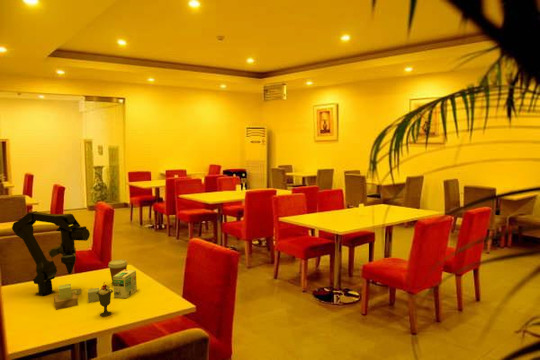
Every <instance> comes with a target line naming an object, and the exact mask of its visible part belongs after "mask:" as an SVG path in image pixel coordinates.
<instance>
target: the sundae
mask: <svg viewBox="0 0 540 360" xmlns="http://www.w3.org/2000/svg"><path fill="white" fill-rule="evenodd" d="M112 293H114V289H112V288H110V286H109V285H107V284H105V282H103V284H102V285H101V287H100V288H99V291H98V292H97V293H96V294H98V297H99V301H98V302H99V305H100V306H102V307H103V311H102V312H101V313H100V314H99V316H100V317H104V318H105V317H108V316H111V315H112V314H113V313H112V311H108V306H109V305H110V304H111V298H112V297H111V296H112Z"/></svg>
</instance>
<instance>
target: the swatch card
mask: <svg viewBox="0 0 540 360" xmlns="http://www.w3.org/2000/svg"><path fill="white" fill-rule="evenodd" d="M71 292H75V293H76V295H77V296H78V295H82V288H74V289H71Z"/></svg>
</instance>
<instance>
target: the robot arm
mask: <svg viewBox="0 0 540 360" xmlns="http://www.w3.org/2000/svg"><path fill="white" fill-rule="evenodd" d="M36 222H42V223H48V224H53V225H55V226H56V227H58V228H56V232H60V244H59V245H57V246H55V247H53V248H50V249H49V250H48V255H49V256H50V258H52V259H53V258H54V257H56V256H58V255H61V257H60V260H61V261H60V262H61V264H63V265H65V268H66V271H67V274H68V275H71V274H72V273H73V269H74V266H75V264H76V261H77V256H76V253H77V252H76V251H77V249H76V246H75V241H79V242H80V241H82V242H86V241H88V240H89V238H90V236H91V235H90V234H91V233H90V232H91V231H89V229H88V228H87V226H86V225H85V226H81V224H80V223H79V221H78V220H77V219H76V218H75V216H74V214H72V213H61V214H59V213H58V214H56V213H55V214H54V213H48V212H42V211H41V212H40V211H30V212H27V213H26V214H25V215H24V216H23V217H21V218H19V219H18V220H17V221H15V222H13V224H12V225H11V226H12V227H11V228H12V232H14V234H15V235H16V236H17V237H18V238H20V239H21V240H22V241H23V243H24V245H25V246H26V248H27V251H28V252H29V254H30V256H31V257H32V260H33V262H35V264H36V266H35V272H36V276H35V277H34V278H33V279H32V281H33V283H34V285H37V292H35V295H38V296H40V297H45V296H47V295H50V294H53V293H55V292H56V290H53V284H52V283H53V281H52V280H54V279H55V277H56V275H57V273H58V270H57V268H58V267H57V266H56V264H55V262H54V261H53V260H51V261H50V260H48V259H47V258H46V255H45V253H44V251H43V250H42V249H41V247H40V244H39V243H38V241H37V239H36V237H35V235H34V225H35V223H36Z"/></svg>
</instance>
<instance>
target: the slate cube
mask: <svg viewBox="0 0 540 360" xmlns="http://www.w3.org/2000/svg"><path fill="white" fill-rule="evenodd" d="M99 290H100V287H95V288H89V289H87V299H88V304H91V303H96V302H97V303H98V302H100V301H99V297H98V294H96V293H97V292H98V291H99Z"/></svg>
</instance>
